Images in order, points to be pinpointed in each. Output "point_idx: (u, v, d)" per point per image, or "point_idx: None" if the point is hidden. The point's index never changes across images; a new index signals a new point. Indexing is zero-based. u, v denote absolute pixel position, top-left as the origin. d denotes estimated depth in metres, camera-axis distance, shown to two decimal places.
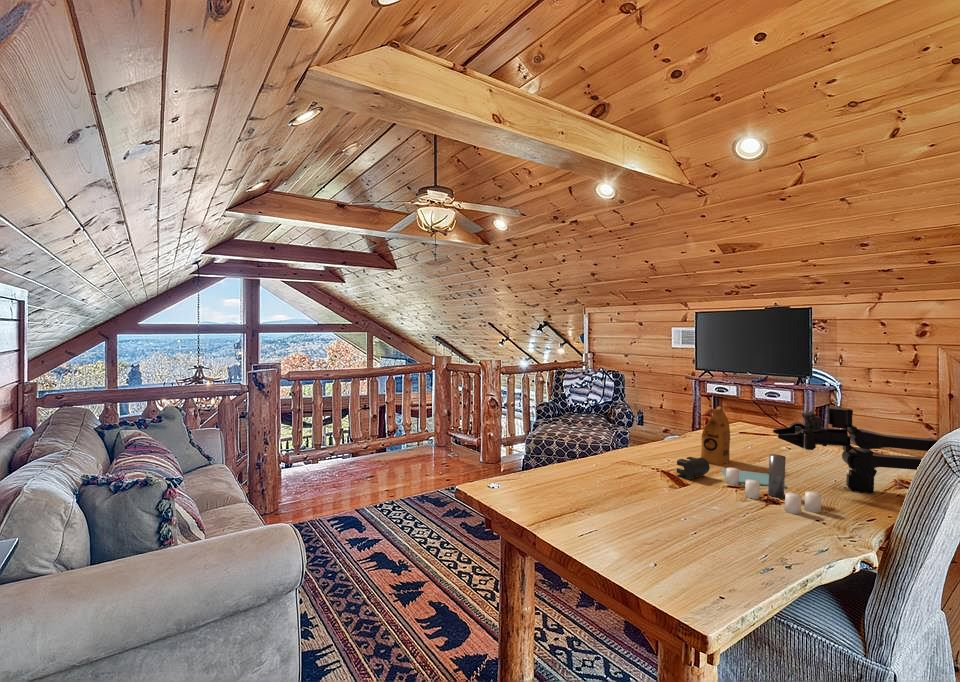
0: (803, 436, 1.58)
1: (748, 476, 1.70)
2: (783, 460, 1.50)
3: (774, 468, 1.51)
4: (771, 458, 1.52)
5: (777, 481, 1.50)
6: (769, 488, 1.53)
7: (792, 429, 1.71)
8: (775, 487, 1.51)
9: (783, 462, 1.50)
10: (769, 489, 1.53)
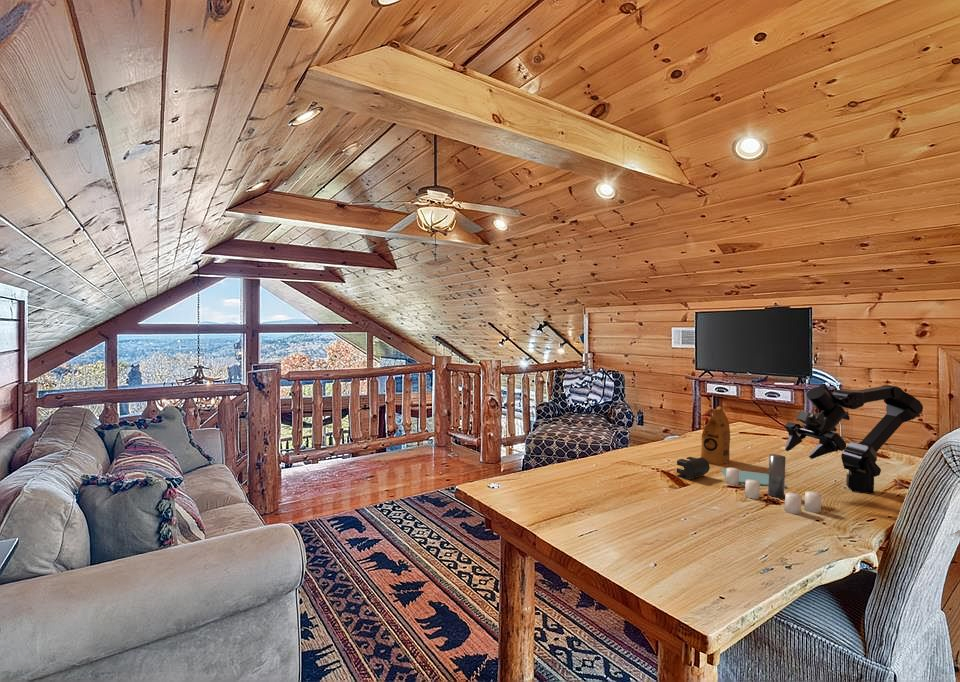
0: (831, 442, 1.46)
1: (748, 476, 1.70)
2: (783, 460, 1.50)
3: (774, 468, 1.51)
4: (771, 458, 1.52)
5: (777, 481, 1.50)
6: (769, 488, 1.53)
7: (794, 435, 1.59)
8: (775, 487, 1.51)
9: (783, 462, 1.50)
10: (769, 489, 1.53)
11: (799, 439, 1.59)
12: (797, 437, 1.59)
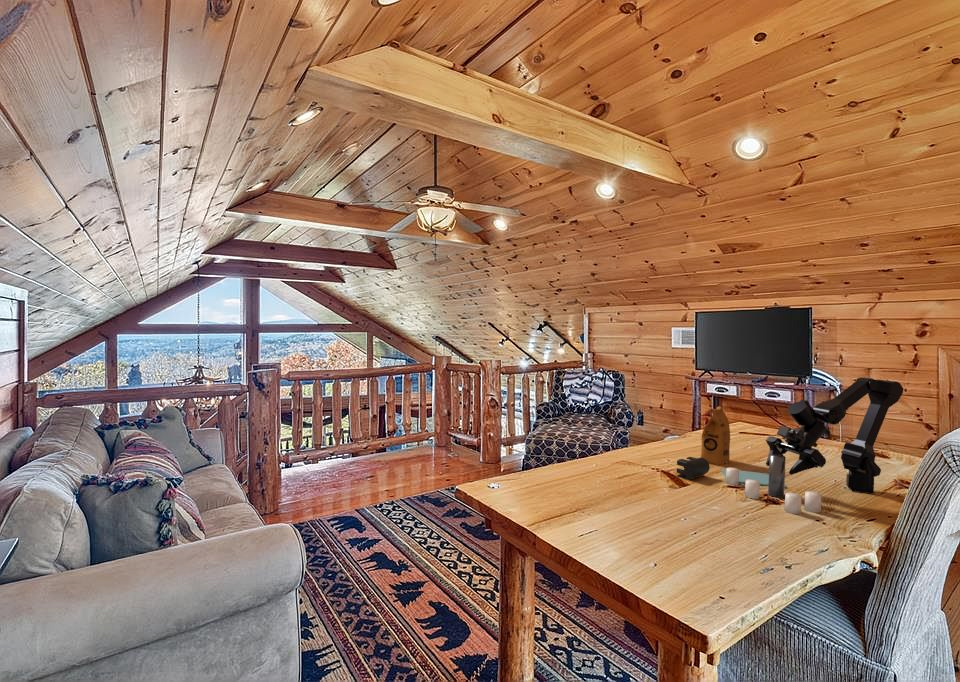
0: (810, 458, 1.45)
1: (748, 476, 1.70)
2: (783, 460, 1.50)
3: (774, 468, 1.51)
4: (771, 458, 1.52)
5: (777, 481, 1.50)
6: (769, 488, 1.53)
7: (775, 449, 1.58)
8: (775, 487, 1.51)
9: (783, 462, 1.50)
10: (769, 489, 1.53)
11: (780, 454, 1.58)
12: (778, 452, 1.58)
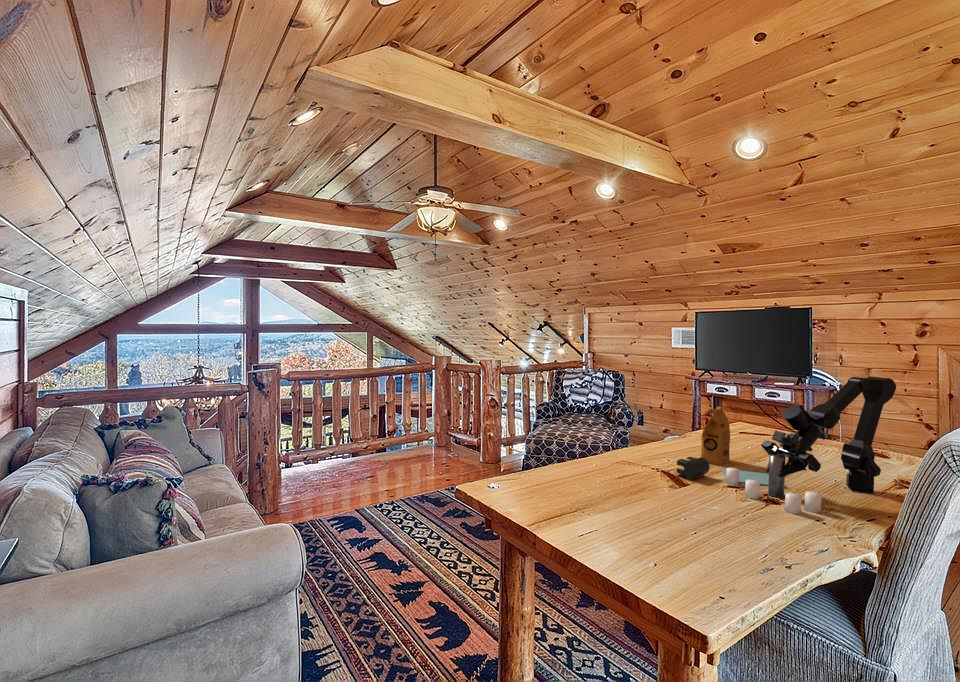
0: (799, 461, 1.47)
1: (748, 476, 1.70)
2: (783, 460, 1.50)
3: (774, 468, 1.51)
4: (771, 458, 1.52)
5: (777, 481, 1.50)
6: (769, 488, 1.53)
7: None
8: (775, 487, 1.51)
9: (783, 462, 1.50)
10: (769, 489, 1.53)
11: None
12: None
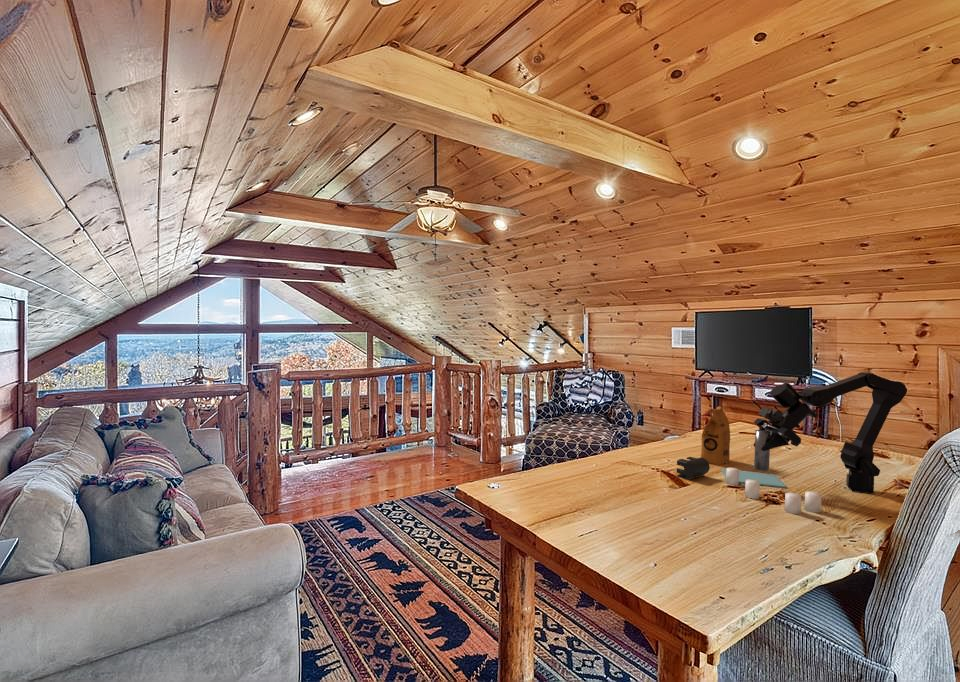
0: (780, 436, 1.54)
1: (748, 476, 1.70)
2: (767, 435, 1.57)
3: (758, 442, 1.59)
4: (756, 433, 1.60)
5: (760, 455, 1.58)
6: (754, 461, 1.61)
7: None
8: (759, 460, 1.58)
9: (767, 437, 1.57)
10: (754, 462, 1.60)
11: (770, 436, 1.62)
12: None
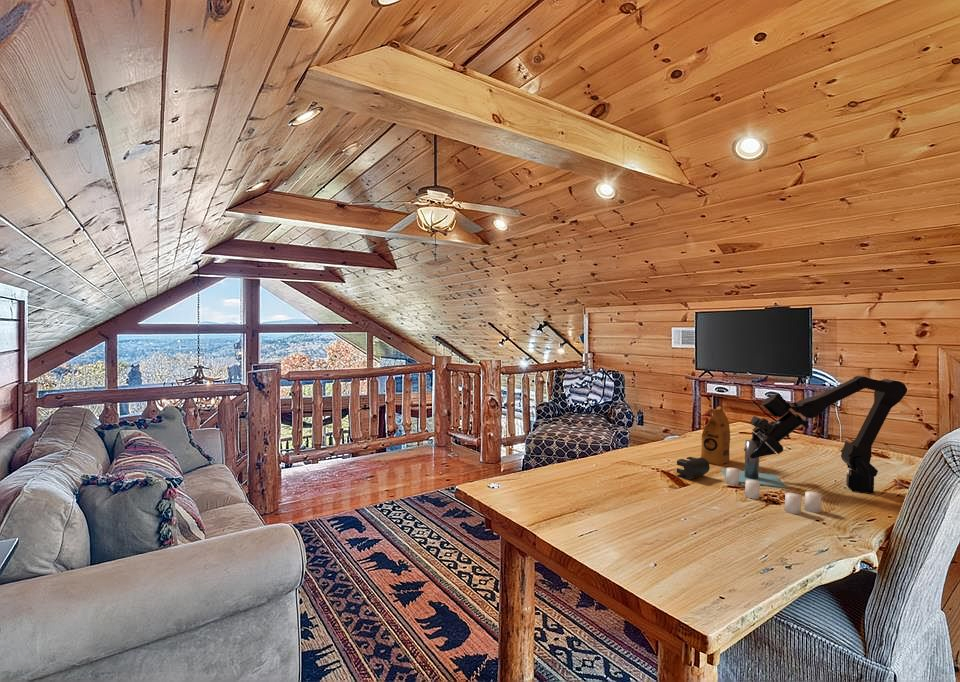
0: (766, 444, 1.60)
1: None
2: (754, 445, 1.67)
3: (746, 451, 1.69)
4: None
5: (748, 463, 1.68)
6: None
7: (756, 438, 1.73)
8: (747, 468, 1.68)
9: (754, 447, 1.67)
10: None
11: None
12: (759, 441, 1.72)
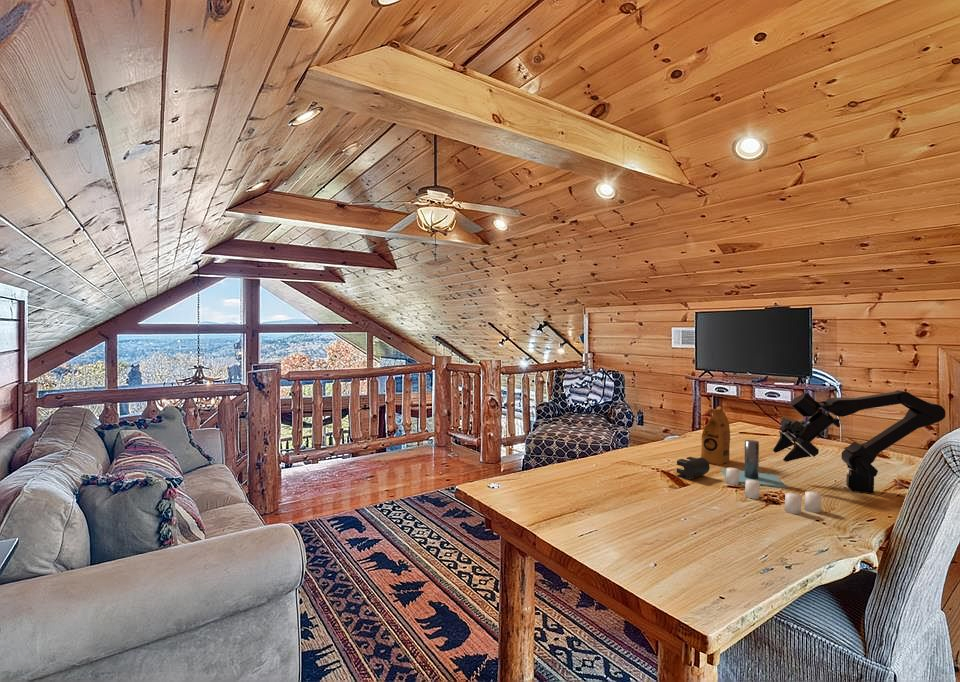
0: (801, 448, 1.57)
1: None
2: (753, 445, 1.67)
3: (746, 451, 1.69)
4: None
5: (748, 463, 1.68)
6: None
7: (784, 438, 1.70)
8: (747, 468, 1.68)
9: (754, 447, 1.67)
10: None
11: (790, 442, 1.69)
12: (788, 440, 1.70)
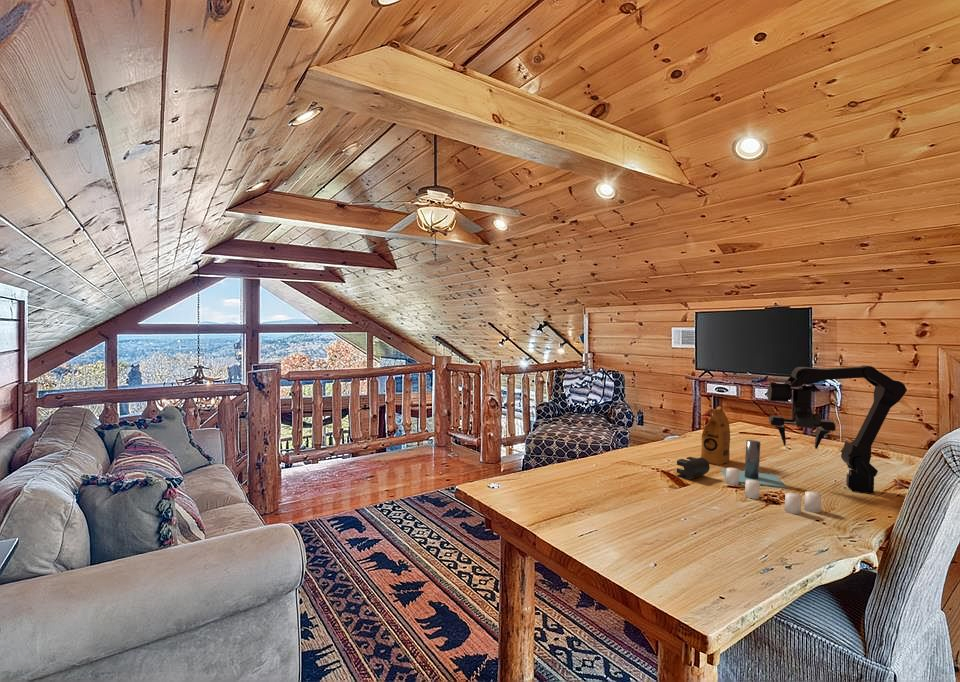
0: None
1: None
2: (755, 445, 1.67)
3: (747, 451, 1.69)
4: (746, 442, 1.70)
5: (748, 463, 1.68)
6: (745, 469, 1.70)
7: None
8: (747, 468, 1.68)
9: (755, 446, 1.67)
10: None
11: None
12: None
